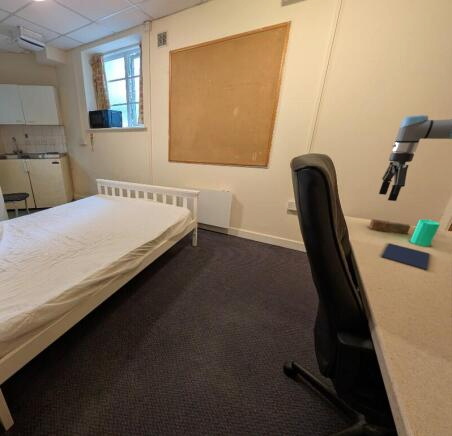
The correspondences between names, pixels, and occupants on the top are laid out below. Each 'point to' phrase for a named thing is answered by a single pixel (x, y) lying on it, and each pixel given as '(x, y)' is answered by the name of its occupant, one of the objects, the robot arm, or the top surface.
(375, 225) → the brown rectangular bar
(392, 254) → the placemat
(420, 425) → the top surface
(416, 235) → the candle
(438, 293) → the top surface
